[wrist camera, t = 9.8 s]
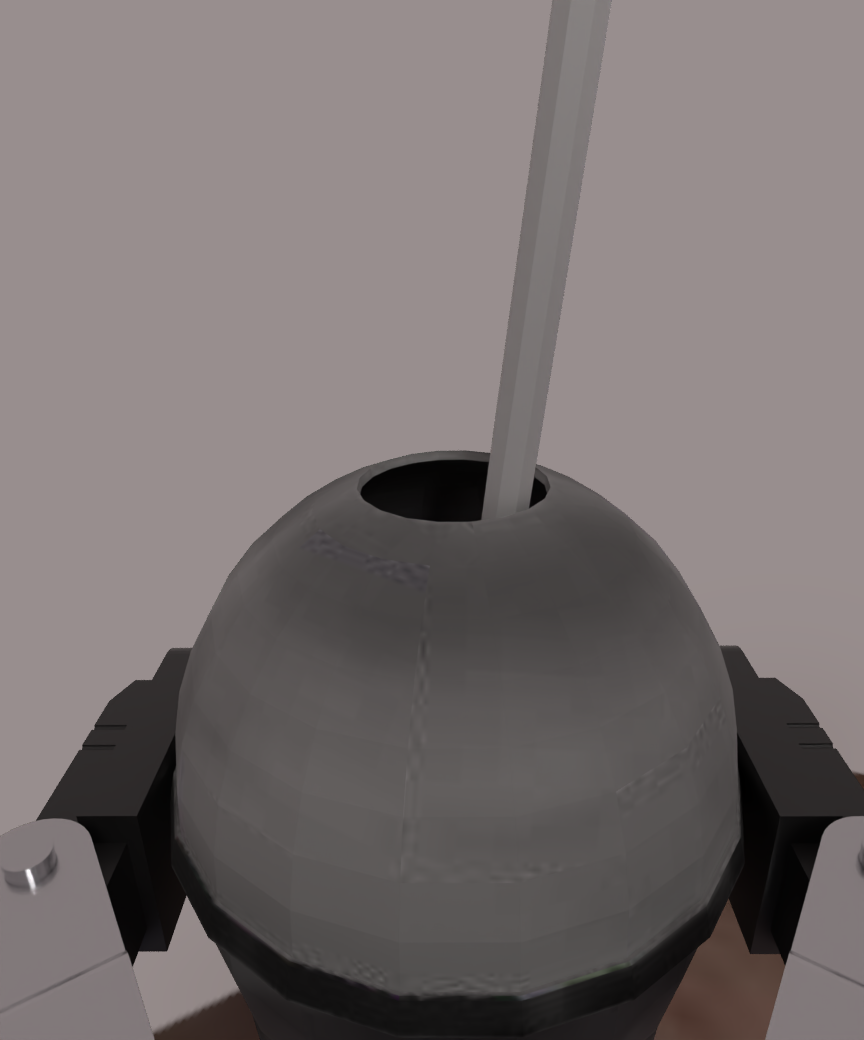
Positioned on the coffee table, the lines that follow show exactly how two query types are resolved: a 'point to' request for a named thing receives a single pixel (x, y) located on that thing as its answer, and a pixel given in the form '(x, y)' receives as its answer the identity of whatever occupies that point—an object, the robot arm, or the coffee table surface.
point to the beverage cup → (464, 719)
